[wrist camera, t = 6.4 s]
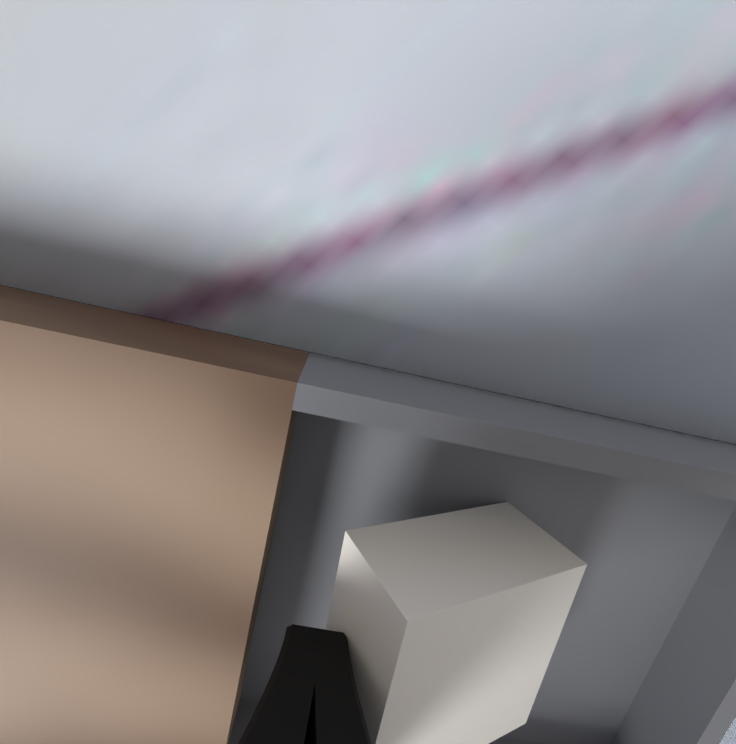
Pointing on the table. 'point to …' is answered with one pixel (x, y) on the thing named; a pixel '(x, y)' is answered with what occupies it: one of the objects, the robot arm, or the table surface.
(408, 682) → the white square block
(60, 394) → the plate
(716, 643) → the box
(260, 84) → the table surface
